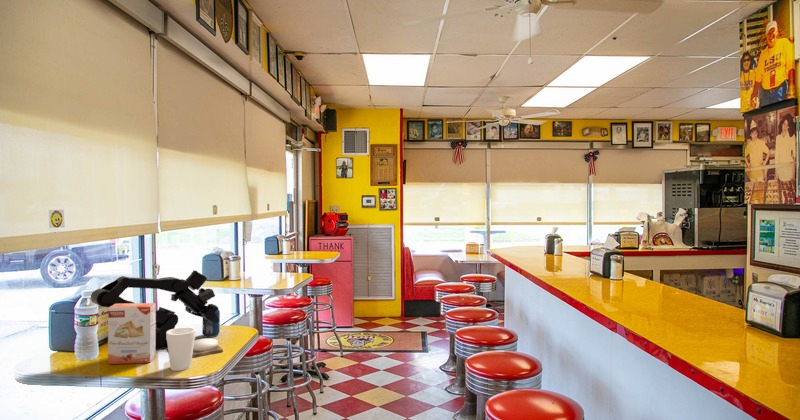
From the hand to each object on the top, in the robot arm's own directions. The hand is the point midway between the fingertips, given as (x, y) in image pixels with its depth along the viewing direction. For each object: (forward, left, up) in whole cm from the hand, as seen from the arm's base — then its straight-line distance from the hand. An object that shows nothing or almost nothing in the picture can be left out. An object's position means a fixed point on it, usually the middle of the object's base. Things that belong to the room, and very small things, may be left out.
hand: (214, 319), depth 196 cm
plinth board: (-12, -17, -7) cm, 22 cm away
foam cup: (-21, -33, -7) cm, 40 cm away
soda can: (-1, 0, -7) cm, 7 cm away
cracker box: (-34, -17, -7) cm, 38 cm away
